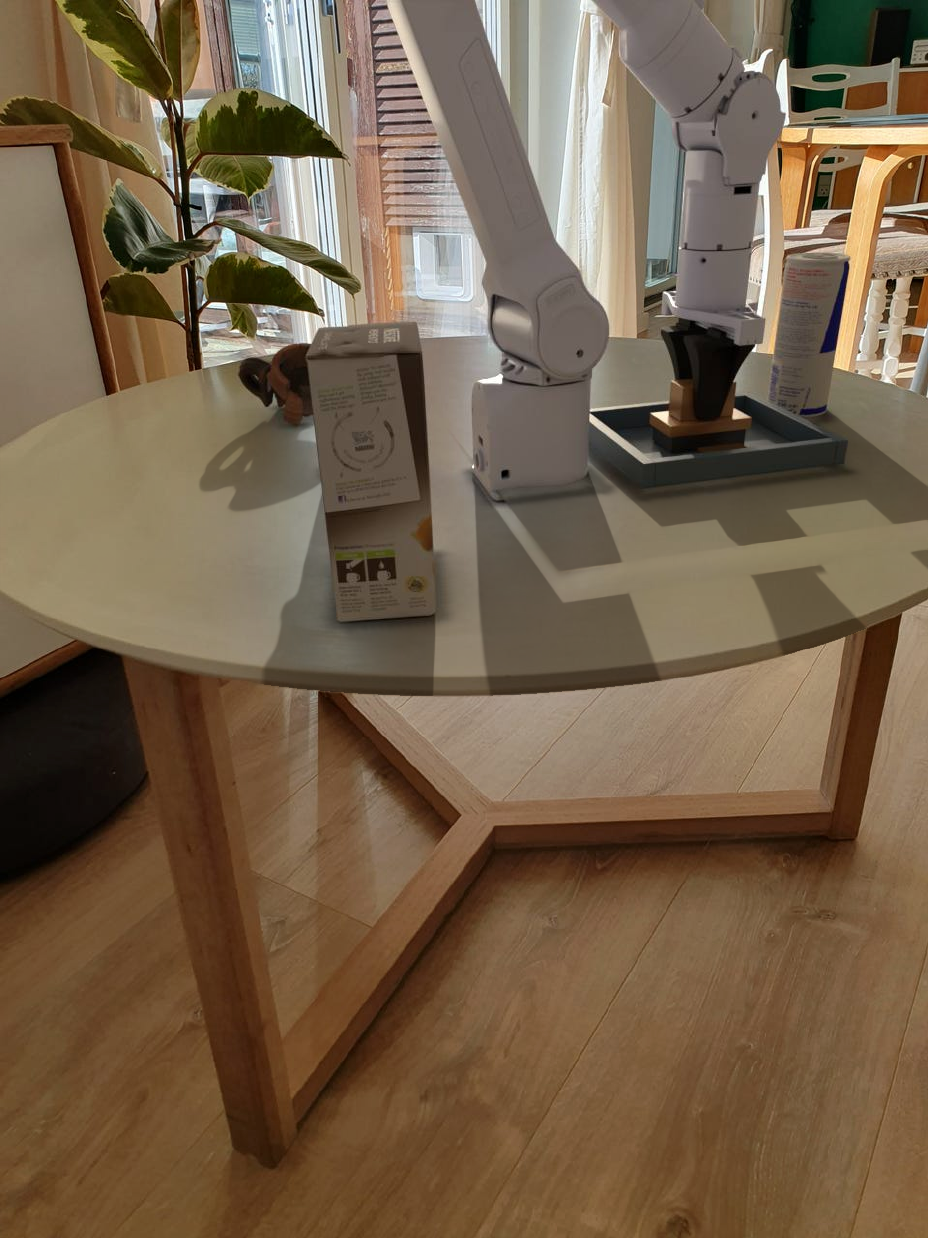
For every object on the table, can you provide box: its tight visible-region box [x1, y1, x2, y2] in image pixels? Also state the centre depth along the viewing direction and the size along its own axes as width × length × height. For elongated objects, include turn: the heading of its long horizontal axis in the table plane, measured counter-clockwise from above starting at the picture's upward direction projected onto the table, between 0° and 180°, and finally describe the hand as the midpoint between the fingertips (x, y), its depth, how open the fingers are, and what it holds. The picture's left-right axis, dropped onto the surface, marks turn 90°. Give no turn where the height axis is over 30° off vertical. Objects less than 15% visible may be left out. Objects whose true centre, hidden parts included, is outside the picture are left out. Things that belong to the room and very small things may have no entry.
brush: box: [650, 378, 752, 453], centre depth 77 cm, size 8×4×6 cm, turn 103°
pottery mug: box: [237, 342, 313, 427], centre depth 93 cm, size 12×10×8 cm
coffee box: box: [305, 321, 437, 623], centre depth 54 cm, size 9×6×16 cm
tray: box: [589, 391, 849, 490], centre depth 78 cm, size 18×16×3 cm
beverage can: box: [766, 252, 851, 418], centre depth 84 cm, size 6×6×15 cm
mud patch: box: [697, 443, 748, 454], centre depth 74 cm, size 4×4×1 cm
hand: (699, 413), depth 77 cm, fingers closed on brush, 2 cm apart
